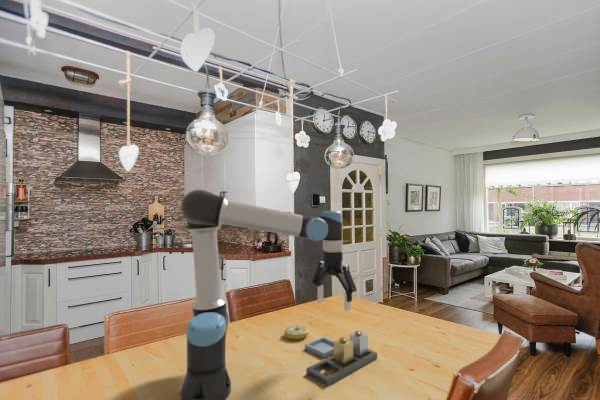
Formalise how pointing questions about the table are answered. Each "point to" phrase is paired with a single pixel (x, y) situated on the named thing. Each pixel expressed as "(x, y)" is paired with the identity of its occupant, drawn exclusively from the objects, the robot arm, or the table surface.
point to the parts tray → (321, 347)
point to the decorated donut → (296, 332)
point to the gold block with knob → (343, 352)
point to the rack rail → (338, 368)
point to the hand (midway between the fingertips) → (333, 306)
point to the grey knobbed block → (359, 344)
